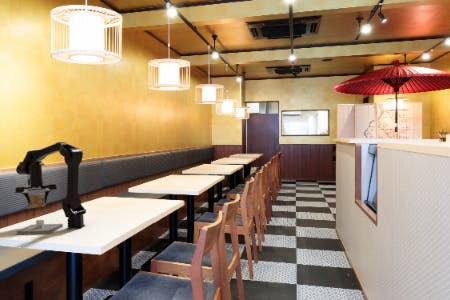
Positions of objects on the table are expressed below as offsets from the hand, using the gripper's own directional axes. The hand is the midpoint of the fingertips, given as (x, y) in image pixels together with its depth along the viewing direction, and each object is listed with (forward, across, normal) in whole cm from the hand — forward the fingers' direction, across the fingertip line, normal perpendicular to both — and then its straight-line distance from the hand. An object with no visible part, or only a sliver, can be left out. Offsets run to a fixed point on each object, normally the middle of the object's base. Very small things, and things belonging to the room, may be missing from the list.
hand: (37, 204), depth 177 cm
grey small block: (+9, -1, +13) cm, 16 cm away
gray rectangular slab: (+11, -1, +13) cm, 17 cm away
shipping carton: (+1, 0, 0) cm, 1 cm away
